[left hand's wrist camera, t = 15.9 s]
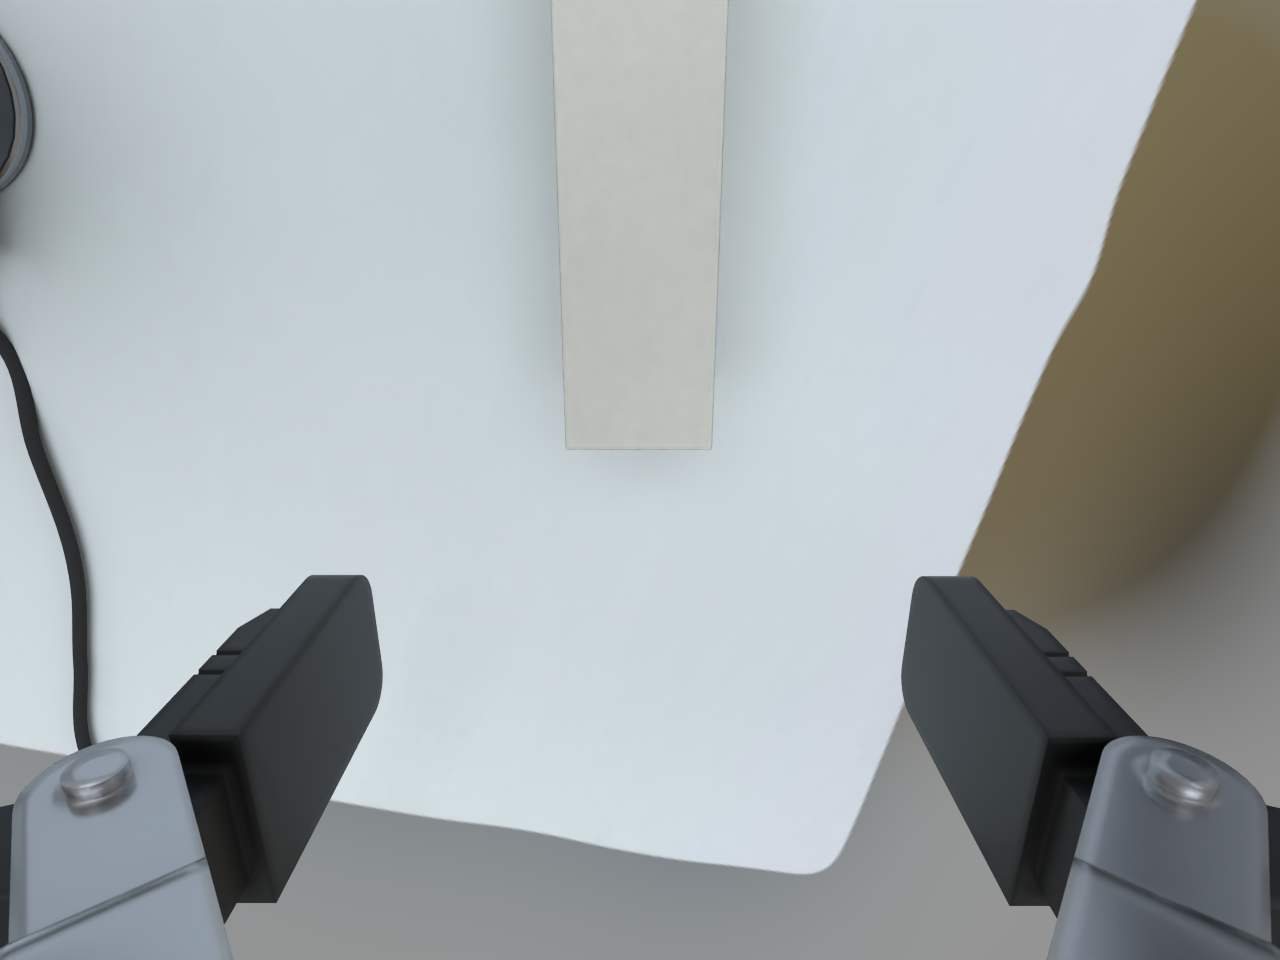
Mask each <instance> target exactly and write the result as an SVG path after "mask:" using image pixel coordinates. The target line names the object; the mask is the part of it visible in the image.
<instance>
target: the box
mask: <svg viewBox="0 0 1280 960" xmlns="http://www.w3.org/2000/svg"><path fill="white" fill-rule="evenodd" d="M728 1H729V0H551V22H552V52H553V82H554V111H555V141H556V171H557V201H558V231H559V260H560V290H561V320H562V350H563V379H564V409H565V439H566V449H594V450H711V449H712V430H713V403H714V376H715V350H716V323H717V296H718V269H719V242H720V216H721V189H722V162H723V135H724V109H725V82H726V55H727V28H728Z"/></svg>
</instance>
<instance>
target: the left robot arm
mask: <svg viewBox="0 0 1280 960" xmlns="http://www.w3.org/2000/svg"><path fill="white" fill-rule="evenodd" d="M31 138H32V110H31V104H30V99H29V94H28V91H27V87H26V84H25V81H24V79H23V76H22V73H21V71H20V69H19V67H18V65H17V63H16V61H15V59H14V57H13V55H12V54H11V52H10V50H9V49H8V47H7V46H6V44H5V43H4V41H3V40H2V39H1V37H0V190H1V189H2V188H4V187H5V186H6V185H8V184H9V183H10V182H11V181H12V180H13V179H14V178H15V176H16V175H17V174H18V172H19V171H20V169H21V168H22V166H23V164H24V162H25V160H26V157H27V155H28V151H29V148H30V143H31ZM0 355H1V357H2V358H3V360H4V362H5V364H6V366H7V368H8V370H9V373H10V376H11V379H12V383H13V387H14V391H15V396H16V401H17V407H18V413H19V418H20V423H21V428H22V433H23V437H24V441H25V444H26V448H27V451H28V454H29V457H30V459H31V462H32V464H33V467H34V470H35V472H36V475H37V477H38V480H39V482H40V485H41V487H42V490H43V493H44V495H45V498H46V500H47V503H48V505H49V508H50V510H51V513H52V516H53V519H54V521H55V524H56V527H57V530H58V533H59V536H60V540H61V543H62V547H63V551H64V555H65V559H66V564H67V569H68V574H69V580H70V587H71V597H72V642H73V666H74V694H73V722H74V732H75V738H76V743H77V747H78V751H77V752H75V753H73V754H71V755H69V756H67V757H65V758H63V759H61V760H60V761H58V762H56V763H54V764H53V765H51V766H50V767H48V768H47V769H45V770H44V771H43V772H41V773H40V774H39V775H38V776H36V777H35V778H34V779H33V780H32V781H31V782H30V783H29V784H28V785H27V786H26V787H25V788H24V789H23V791H22V792H21V793H20V795H19V796H18V798H17V800H16V802H15V804H12V805H7V806H3V807H0V960H234V959H233V956H232V952H231V948H230V944H229V941H228V937H227V933H226V930H225V926H224V924H225V922H226V921H227V919H228V917H229V916H230V914H231V912H232V910H233V909H234V907H235V905H236V903H277V901H278V899H279V897H280V895H281V893H282V891H283V889H284V887H285V885H286V883H287V881H288V879H289V878H290V876H291V874H292V872H293V870H294V868H295V866H296V864H297V862H298V860H299V858H300V856H301V854H302V852H303V851H304V849H305V847H306V845H307V843H308V841H309V839H310V837H311V835H312V833H313V831H314V829H315V827H316V825H317V823H318V822H319V820H320V818H321V816H322V814H323V812H324V810H325V808H326V806H327V804H328V802H329V800H330V798H331V796H332V795H333V793H334V791H335V789H336V787H337V785H338V783H339V781H340V779H341V777H342V775H343V773H344V771H345V769H346V768H347V766H348V764H349V762H350V760H351V758H352V756H353V754H354V752H355V750H356V748H357V746H358V744H359V742H360V740H361V739H362V737H363V735H364V733H365V731H366V729H367V727H368V725H369V723H370V721H371V719H372V717H373V715H374V713H375V711H376V709H377V706H378V704H379V700H380V695H381V689H382V677H383V673H382V662H381V654H380V647H379V640H378V633H377V626H376V619H375V612H374V604H373V597H372V591H371V587H370V583H369V581H368V579H367V578H366V577H365V576H363V575H311V576H309V577H308V578H307V579H305V581H304V582H303V583H302V584H301V585H300V586H299V587H298V588H297V590H296V591H295V592H294V593H293V594H292V595H291V596H290V598H289V599H288V600H287V601H286V602H285V603H284V604H283V605H282V607H281V608H280V609H269V610H268V611H266V612H264V613H263V614H261V615H259V616H257V617H256V618H254V619H252V620H251V621H249V622H247V623H246V624H244V625H242V626H241V627H239V628H238V629H237V630H236V631H235V632H234V633H233V634H232V635H231V636H230V637H229V638H228V639H227V640H226V641H225V642H224V643H223V644H222V646H221V647H220V648H219V649H218V650H217V654H216V655H212V656H211V657H210V658H209V659H208V660H207V661H206V663H205V664H204V665H203V666H202V667H201V668H200V669H199V673H198V675H193V676H192V677H191V678H190V680H189V681H188V682H187V683H186V684H185V685H184V686H183V687H182V688H181V689H180V690H179V691H178V692H177V693H176V694H175V695H174V697H173V698H172V699H171V700H170V701H169V702H168V703H167V704H166V705H165V706H164V707H163V708H162V709H161V710H160V711H159V712H158V714H157V715H156V716H155V717H154V718H153V719H152V720H151V721H150V722H149V723H148V724H147V725H146V726H145V727H144V728H143V729H142V731H141V732H140V733H139V734H138V735H137V736H130V737H122V738H117V739H112V740H108V741H105V742H101V743H98V744H95V745H91V742H90V737H89V732H88V726H87V688H88V667H87V607H86V590H85V581H84V574H83V568H82V562H81V558H80V553H79V549H78V545H77V541H76V537H75V534H74V530H73V527H72V524H71V521H70V518H69V515H68V512H67V509H66V507H65V504H64V501H63V499H62V496H61V494H60V491H59V488H58V486H57V483H56V481H55V478H54V475H53V473H52V470H51V468H50V465H49V462H48V460H47V457H46V454H45V452H44V448H43V445H42V442H41V439H40V435H39V431H38V426H37V421H36V415H35V409H34V404H33V399H32V394H31V389H30V386H29V383H28V380H27V378H26V375H25V372H24V370H23V367H22V365H21V362H20V360H19V357H18V355H17V353H16V351H15V349H14V347H13V346H12V344H11V343H10V342H9V340H8V339H7V338H6V336H5V335H4V334H3V333H2V332H1V331H0ZM901 680H902V691H903V697H904V701H905V705H906V708H907V711H908V713H909V715H910V717H911V719H912V721H913V723H914V724H915V726H916V728H917V730H918V732H919V734H920V736H921V738H922V740H923V742H924V743H925V745H926V747H927V749H928V751H929V753H930V755H931V757H932V759H933V761H934V763H935V764H936V766H937V768H938V770H939V772H940V774H941V776H942V778H943V780H944V781H945V784H946V785H947V787H948V789H949V791H950V793H951V795H952V797H953V799H954V801H955V803H956V805H957V806H958V808H959V810H960V812H961V814H962V816H963V818H964V820H965V822H966V824H967V825H968V827H969V829H970V831H971V833H972V835H973V837H974V839H975V841H976V843H977V845H978V846H979V848H980V850H981V852H982V854H983V856H984V858H985V860H986V862H987V864H988V866H989V867H990V869H991V871H992V873H993V875H994V877H995V879H996V881H997V883H998V885H999V887H1000V888H1001V890H1002V892H1003V894H1004V896H1005V898H1006V900H1007V902H1008V904H1009V905H1010V906H1050V907H1051V909H1052V911H1053V912H1054V914H1055V916H1056V918H1057V922H1056V926H1055V930H1054V933H1053V937H1052V941H1051V944H1050V948H1049V952H1048V956H1047V959H1046V960H1280V808H1276V807H1272V806H1268V805H1266V804H1265V802H1264V800H1263V798H1262V796H1261V795H1260V793H1259V792H1258V791H1257V789H1256V788H1255V787H1254V786H1253V785H1252V784H1251V783H1250V782H1249V781H1248V780H1247V779H1246V778H1245V777H1244V776H1242V775H1241V774H1240V773H1239V772H1237V771H1236V770H1235V769H1233V768H1232V767H1230V766H1229V765H1227V764H1226V763H1224V762H1222V761H1220V760H1219V759H1217V758H1215V757H1213V756H1211V755H1209V754H1207V753H1205V752H1203V751H1201V750H1199V749H1196V748H1193V747H1191V746H1188V745H1185V744H1182V743H1179V742H1175V741H1172V740H1168V739H1163V738H1158V737H1150V736H1148V735H1147V734H1146V733H1145V732H1144V731H1143V730H1142V729H1141V728H1140V727H1139V726H1138V725H1137V724H1136V723H1135V722H1134V721H1133V719H1132V718H1131V717H1130V716H1129V715H1128V714H1127V713H1126V712H1125V711H1124V710H1123V709H1122V708H1121V707H1120V706H1119V705H1118V704H1117V703H1116V702H1115V700H1114V699H1113V698H1112V697H1111V696H1110V695H1109V694H1108V693H1107V692H1106V691H1105V690H1104V689H1103V688H1102V687H1101V686H1100V685H1099V684H1098V683H1097V682H1096V681H1095V679H1094V678H1093V677H1091V676H1087V671H1086V670H1085V669H1084V668H1083V667H1082V666H1081V665H1080V664H1079V663H1078V662H1077V661H1076V659H1075V658H1074V657H1069V652H1068V651H1067V650H1066V649H1065V648H1064V647H1063V646H1062V645H1061V644H1060V643H1059V642H1058V640H1057V639H1056V638H1055V637H1054V636H1053V635H1052V634H1051V633H1050V632H1049V631H1048V630H1047V629H1045V628H1044V627H1042V626H1040V625H1039V624H1037V623H1035V622H1033V621H1032V620H1030V619H1028V618H1027V617H1025V616H1023V615H1022V614H1020V613H1018V612H1017V611H1015V610H1005V609H1004V608H1003V607H1002V606H1001V605H1000V604H999V602H998V601H997V600H996V599H995V598H994V597H993V596H992V595H991V593H990V592H989V591H988V590H987V589H986V588H985V587H984V586H983V584H982V583H981V582H980V581H979V580H978V579H977V578H975V577H972V576H922V577H919V578H918V579H917V581H916V583H915V585H914V588H913V593H912V599H911V606H910V613H909V620H908V628H907V635H906V642H905V649H904V656H903V663H902V673H901Z"/></svg>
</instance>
